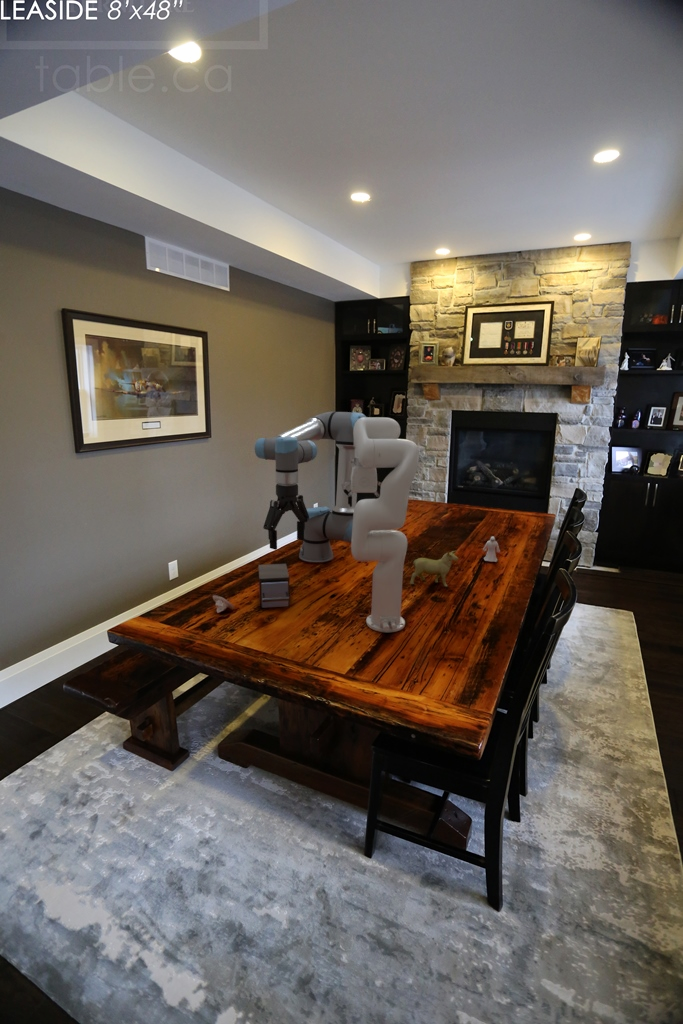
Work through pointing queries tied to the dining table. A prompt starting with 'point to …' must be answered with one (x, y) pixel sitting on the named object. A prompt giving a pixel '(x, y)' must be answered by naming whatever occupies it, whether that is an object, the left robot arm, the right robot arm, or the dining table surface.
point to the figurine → (491, 550)
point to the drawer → (274, 593)
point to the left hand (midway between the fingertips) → (287, 544)
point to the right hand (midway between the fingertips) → (362, 506)
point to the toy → (434, 567)
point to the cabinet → (272, 575)
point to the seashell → (221, 603)
